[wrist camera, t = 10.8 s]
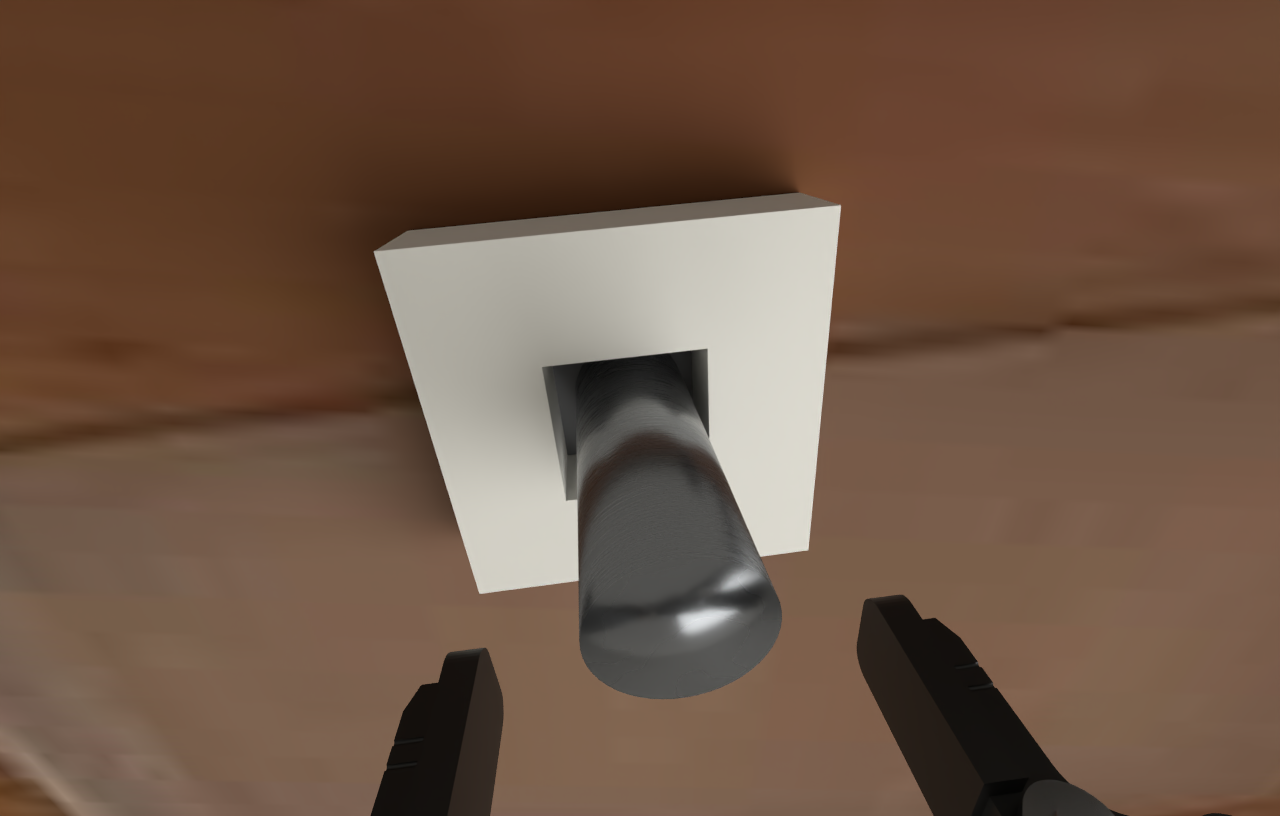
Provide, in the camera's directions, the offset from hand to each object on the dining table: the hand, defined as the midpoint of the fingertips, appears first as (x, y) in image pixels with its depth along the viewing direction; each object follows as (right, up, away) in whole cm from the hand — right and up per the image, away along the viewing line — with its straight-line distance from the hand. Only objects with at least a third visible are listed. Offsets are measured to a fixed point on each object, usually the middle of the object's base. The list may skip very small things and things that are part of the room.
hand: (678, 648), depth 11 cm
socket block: (-1, +6, +11) cm, 13 cm away
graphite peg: (-1, +6, +11) cm, 12 cm away
